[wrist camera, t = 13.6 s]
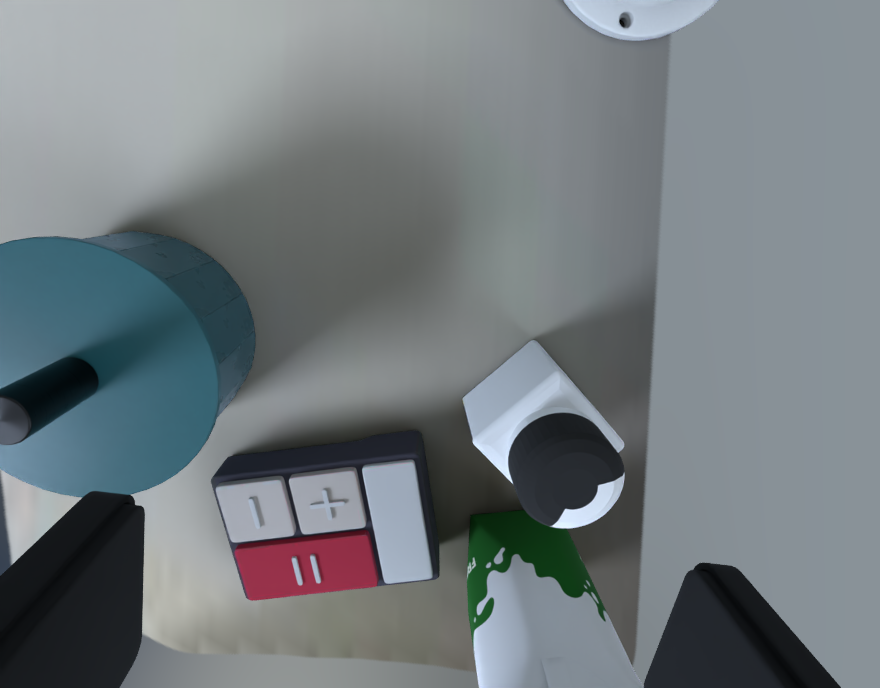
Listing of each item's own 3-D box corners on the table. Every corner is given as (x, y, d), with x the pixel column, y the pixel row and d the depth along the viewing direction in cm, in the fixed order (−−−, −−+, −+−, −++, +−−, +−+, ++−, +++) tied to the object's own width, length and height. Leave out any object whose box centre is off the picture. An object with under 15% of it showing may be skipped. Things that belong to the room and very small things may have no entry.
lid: (-72, 211, 25) (-222, 218, 19) (233, 261, 27) (183, 283, 21) (-46, 471, 29) (-163, 544, 23) (217, 501, 31) (172, 577, 25)
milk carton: (566, 583, 44) (688, 885, 25) (462, 593, 44) (505, 908, 25) (567, 495, 41) (704, 757, 22) (456, 505, 41) (499, 780, 22)
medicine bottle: (459, 398, 38) (481, 487, 27) (533, 336, 37) (588, 402, 26) (518, 459, 40) (562, 567, 29) (590, 402, 39) (665, 491, 28)
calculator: (203, 483, 35) (419, 457, 35) (227, 452, 39) (421, 428, 39) (242, 610, 38) (440, 587, 38) (261, 568, 42) (440, 548, 42)
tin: (48, 215, 33) (-68, 223, 25) (263, 252, 34) (219, 271, 26) (54, 406, 37) (-45, 468, 29) (248, 432, 38) (205, 497, 30)
